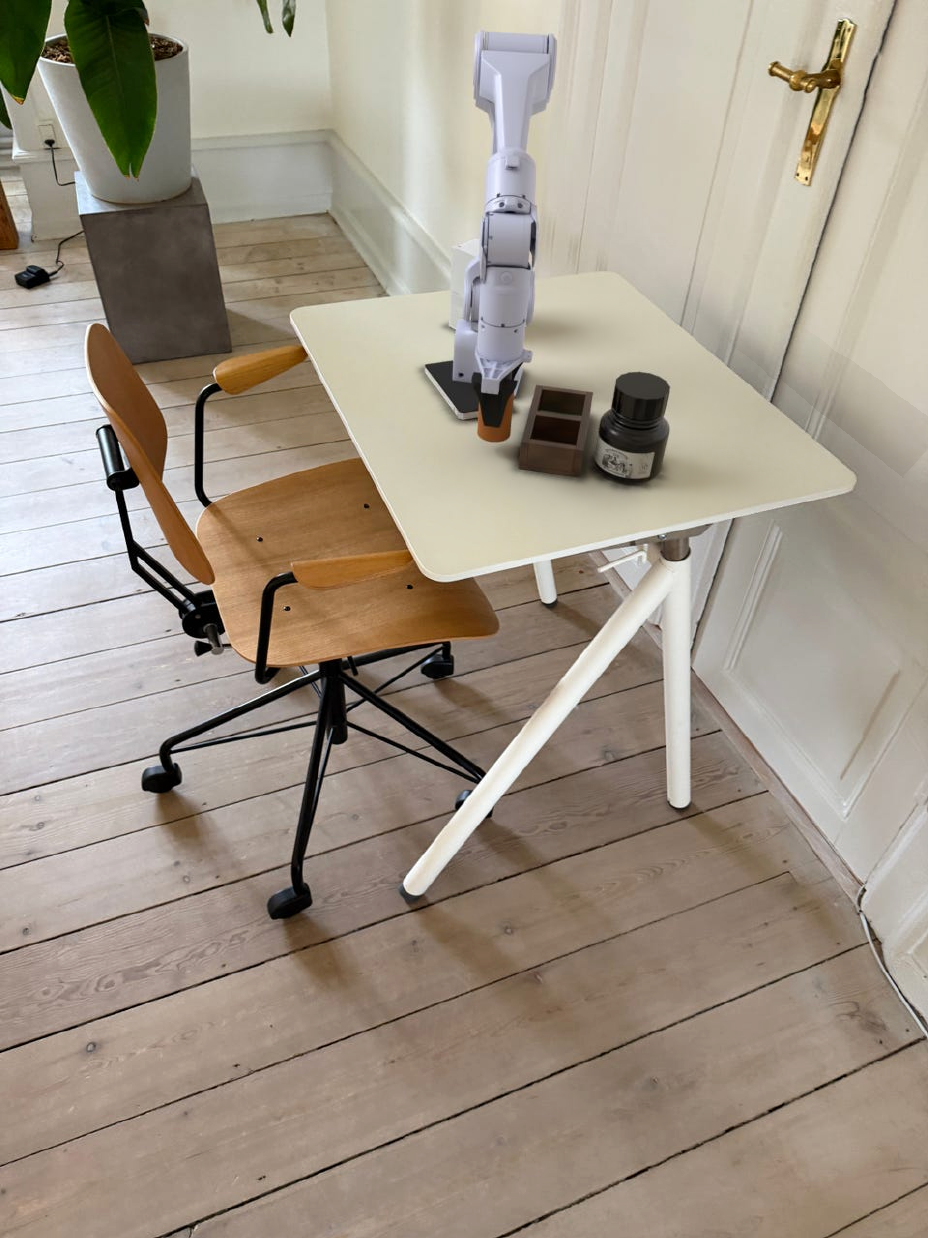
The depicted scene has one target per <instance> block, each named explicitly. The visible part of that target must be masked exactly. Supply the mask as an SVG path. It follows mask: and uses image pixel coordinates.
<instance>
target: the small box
mask: <svg viewBox="0 0 928 1238" xmlns="http://www.w3.org/2000/svg"><path fill="white" fill-rule="evenodd" d="M479 242H480V236H479V237H477V238H476V237H475V238H472V239H469V240H466V241H464V242H461V243H459V244H456V245H453V246H451V259H450V261H451V262H450V287H449V307H448V308H449V313H448V327H450V328H452V329H453V330H455V331H456V328H457V324H458V321H459V320H460V319H463V296H464V279H465V273H466V267H467V266H468V263H469V262H470V261H471V260H473V259H474V258H475V257H477V256H478V255H479ZM479 277H480V275H479ZM472 284H473V282H472ZM470 319H471V314H470Z"/></svg>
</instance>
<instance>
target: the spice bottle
mask: <svg viewBox="0 0 928 1238" xmlns="http://www.w3.org/2000/svg"><path fill="white" fill-rule="evenodd" d="M504 379H509V380H511V379H512V371H511V372H510V373H509V374H508V375H506V376H505V377H504ZM514 399H515V397H514V392H513V394H512V395H511V396H510V398H509V400H508V402H507V405H506V408H505V413H504V416H503V420H502V423H501V425H500V427H499V428H496V427H488V426H484V424H483V420H482V414H481V408H480V403H479V412H478V417H477V431H476V433H477V437H478V438H480V439H481V440H482V441H485V442H488V443H492V444H493V443H497V444H498V443H503V442H506V441H507V440H509V439H510V437H511V433H512V422H513V411H514Z"/></svg>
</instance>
